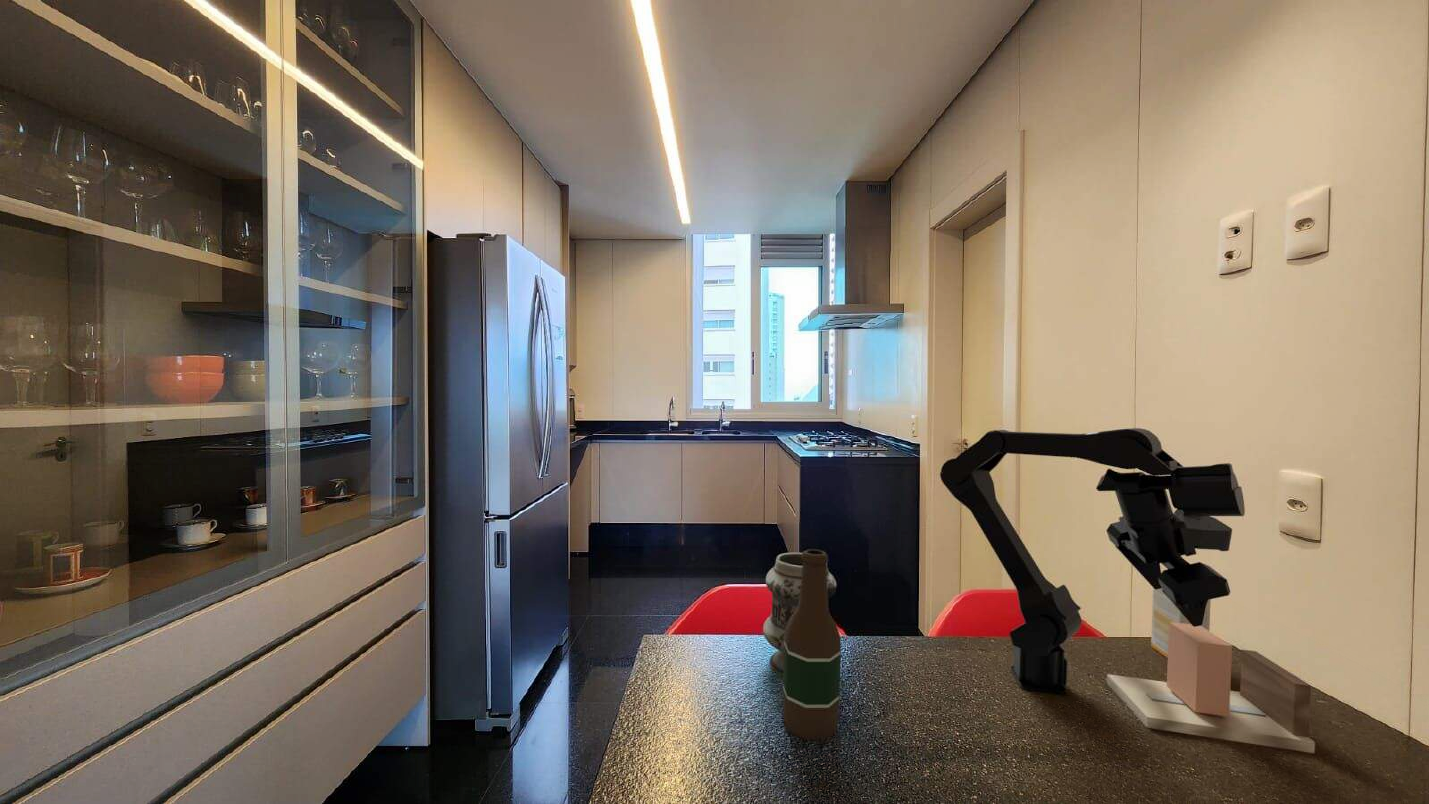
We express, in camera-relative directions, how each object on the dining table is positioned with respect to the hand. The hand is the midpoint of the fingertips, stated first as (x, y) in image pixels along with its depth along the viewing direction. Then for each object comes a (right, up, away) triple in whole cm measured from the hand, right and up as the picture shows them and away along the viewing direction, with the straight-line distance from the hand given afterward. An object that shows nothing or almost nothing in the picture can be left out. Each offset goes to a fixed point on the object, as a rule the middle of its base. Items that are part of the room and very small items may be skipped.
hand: (1176, 605), depth 79 cm
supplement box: (+15, -16, +17) cm, 28 cm away
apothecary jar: (-54, -14, +11) cm, 57 cm away
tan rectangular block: (+3, -14, 0) cm, 14 cm away
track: (+3, -16, 0) cm, 16 cm away
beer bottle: (-55, -15, -5) cm, 57 cm away
